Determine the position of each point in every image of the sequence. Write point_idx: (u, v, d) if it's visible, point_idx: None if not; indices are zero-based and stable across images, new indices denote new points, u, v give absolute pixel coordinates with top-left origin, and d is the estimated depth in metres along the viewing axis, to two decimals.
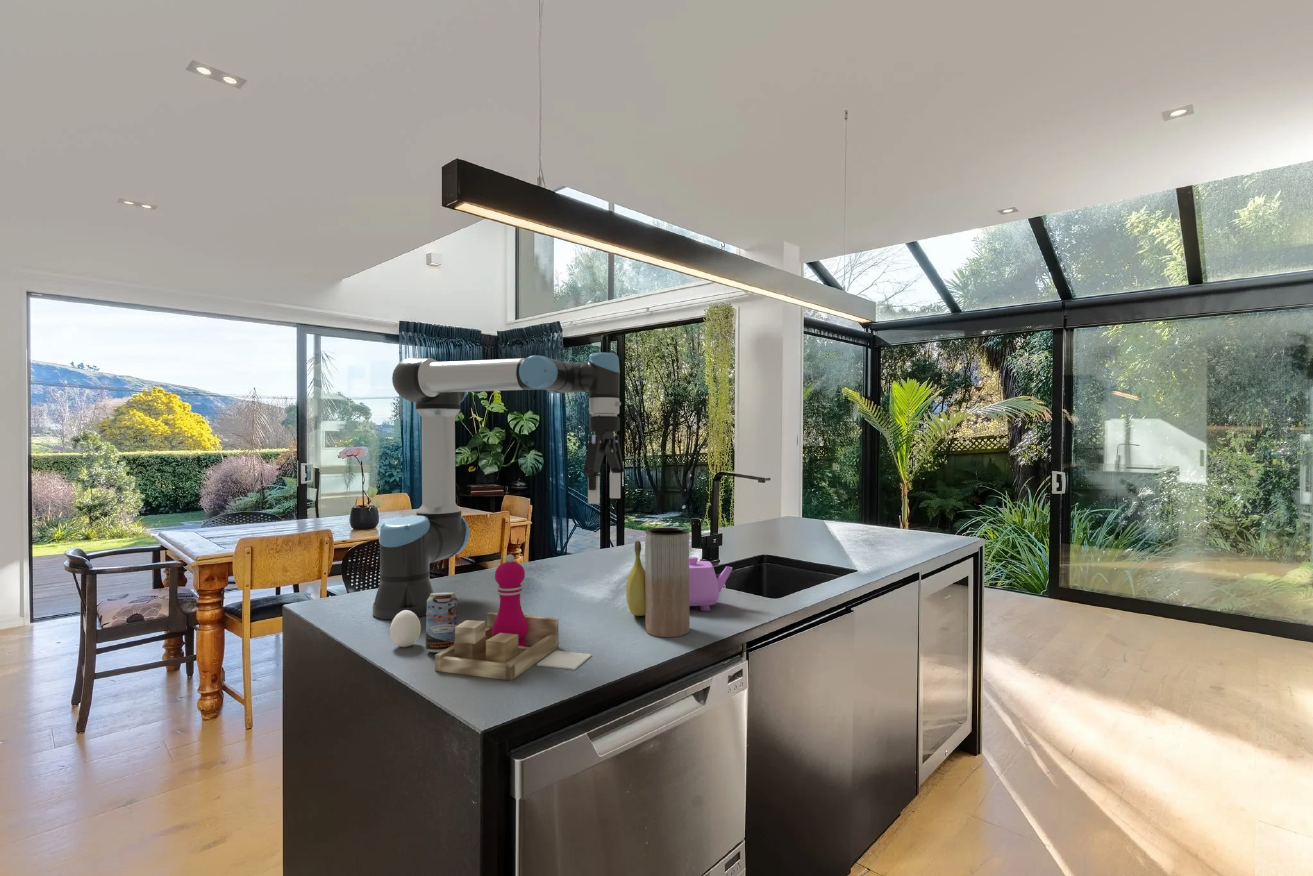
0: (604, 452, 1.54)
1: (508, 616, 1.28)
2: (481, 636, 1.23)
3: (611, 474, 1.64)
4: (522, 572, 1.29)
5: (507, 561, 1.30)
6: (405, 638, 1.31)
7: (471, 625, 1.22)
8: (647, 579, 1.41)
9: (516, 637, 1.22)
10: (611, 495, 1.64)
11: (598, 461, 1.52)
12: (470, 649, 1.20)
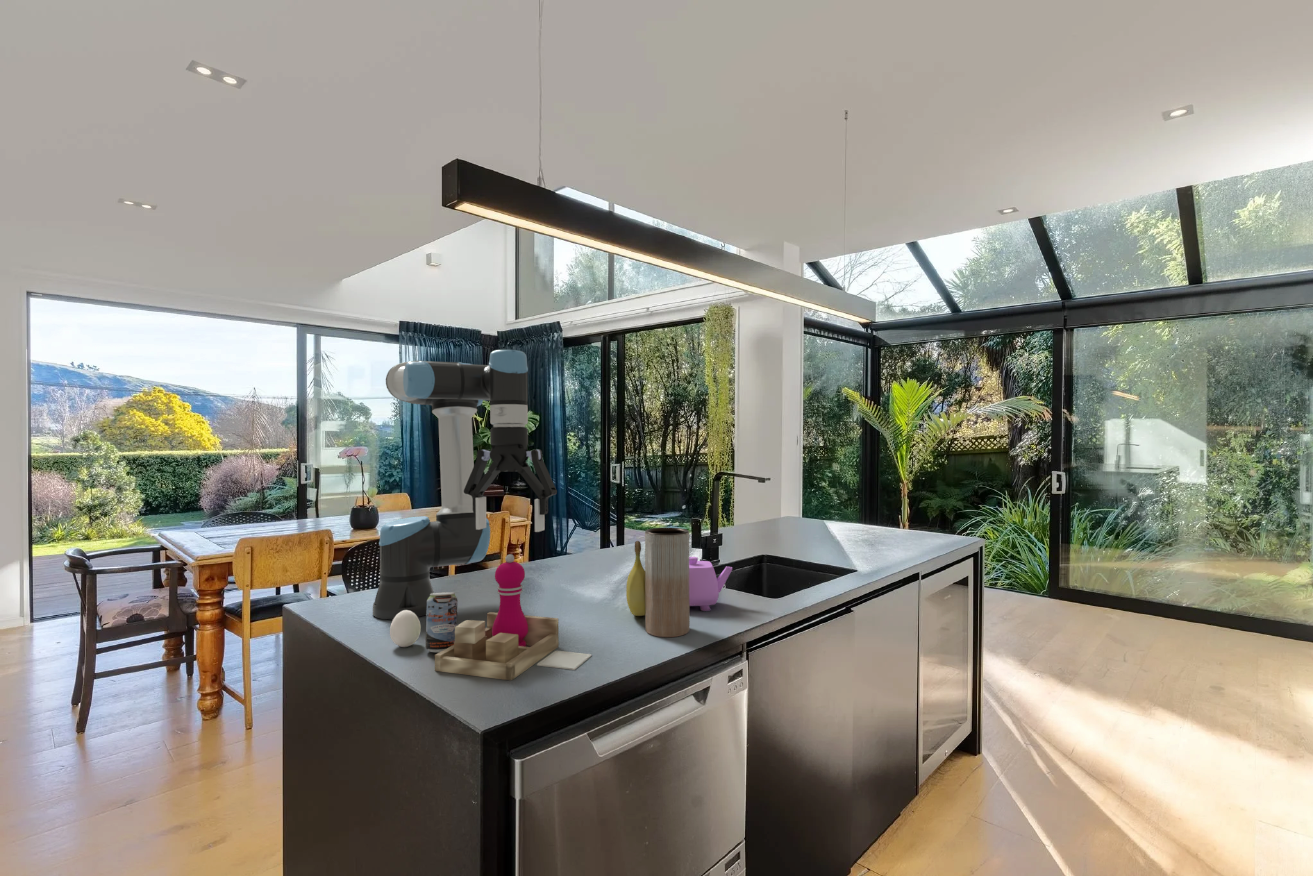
0: (489, 470, 1.30)
1: (508, 616, 1.28)
2: (481, 636, 1.23)
3: None
4: (522, 572, 1.29)
5: (507, 561, 1.30)
6: (405, 638, 1.31)
7: (470, 625, 1.22)
8: (647, 579, 1.41)
9: (516, 637, 1.22)
10: None
11: None
12: (470, 649, 1.20)
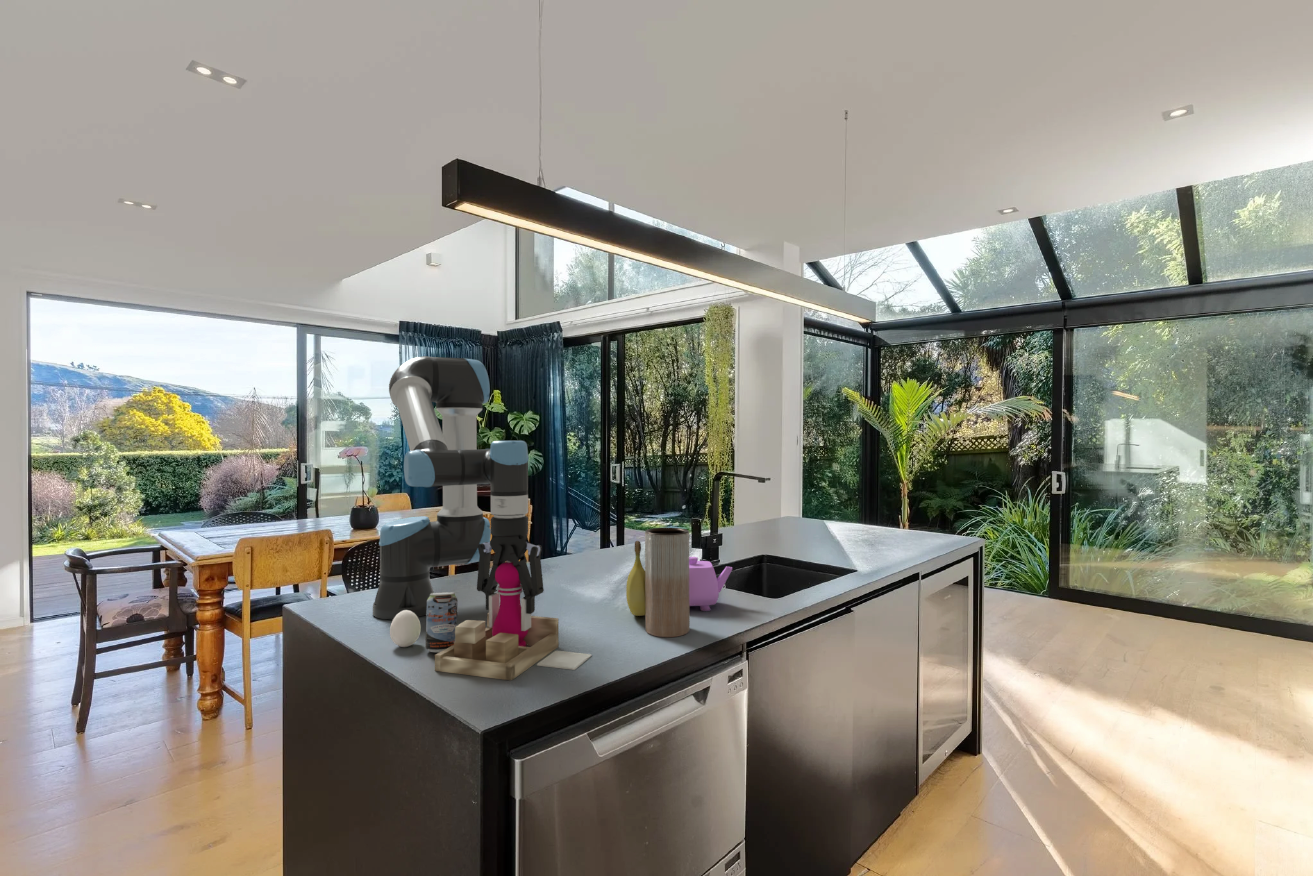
0: (494, 563, 1.30)
1: (508, 616, 1.28)
2: (481, 636, 1.23)
3: None
4: None
5: (507, 561, 1.30)
6: (405, 638, 1.31)
7: (471, 625, 1.22)
8: (647, 579, 1.41)
9: (516, 637, 1.22)
10: None
11: None
12: (470, 649, 1.20)
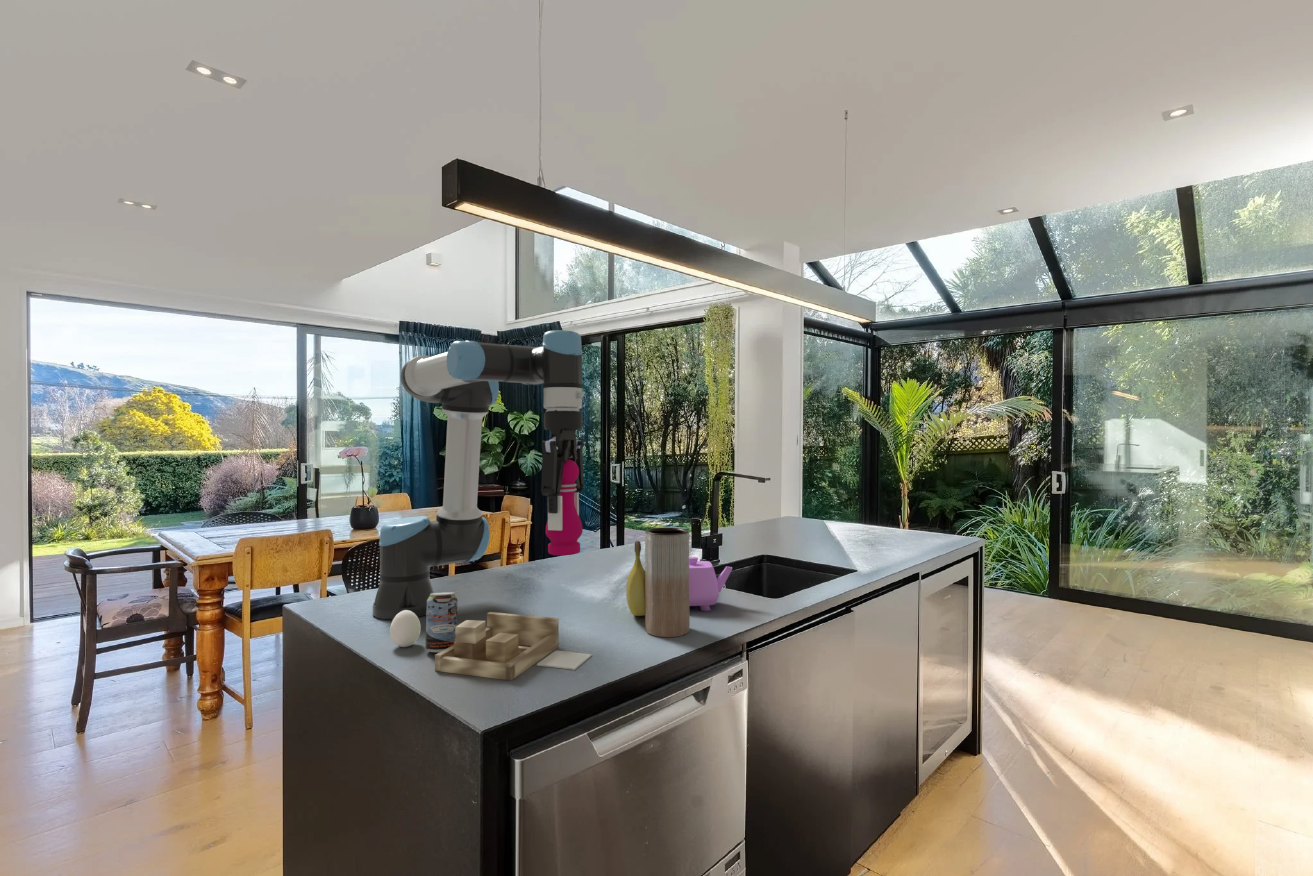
0: (564, 460, 1.22)
1: (576, 512, 1.25)
2: (481, 636, 1.23)
3: None
4: None
5: None
6: (405, 638, 1.31)
7: (471, 625, 1.22)
8: (647, 579, 1.41)
9: (516, 637, 1.22)
10: None
11: (558, 475, 1.20)
12: (470, 649, 1.20)
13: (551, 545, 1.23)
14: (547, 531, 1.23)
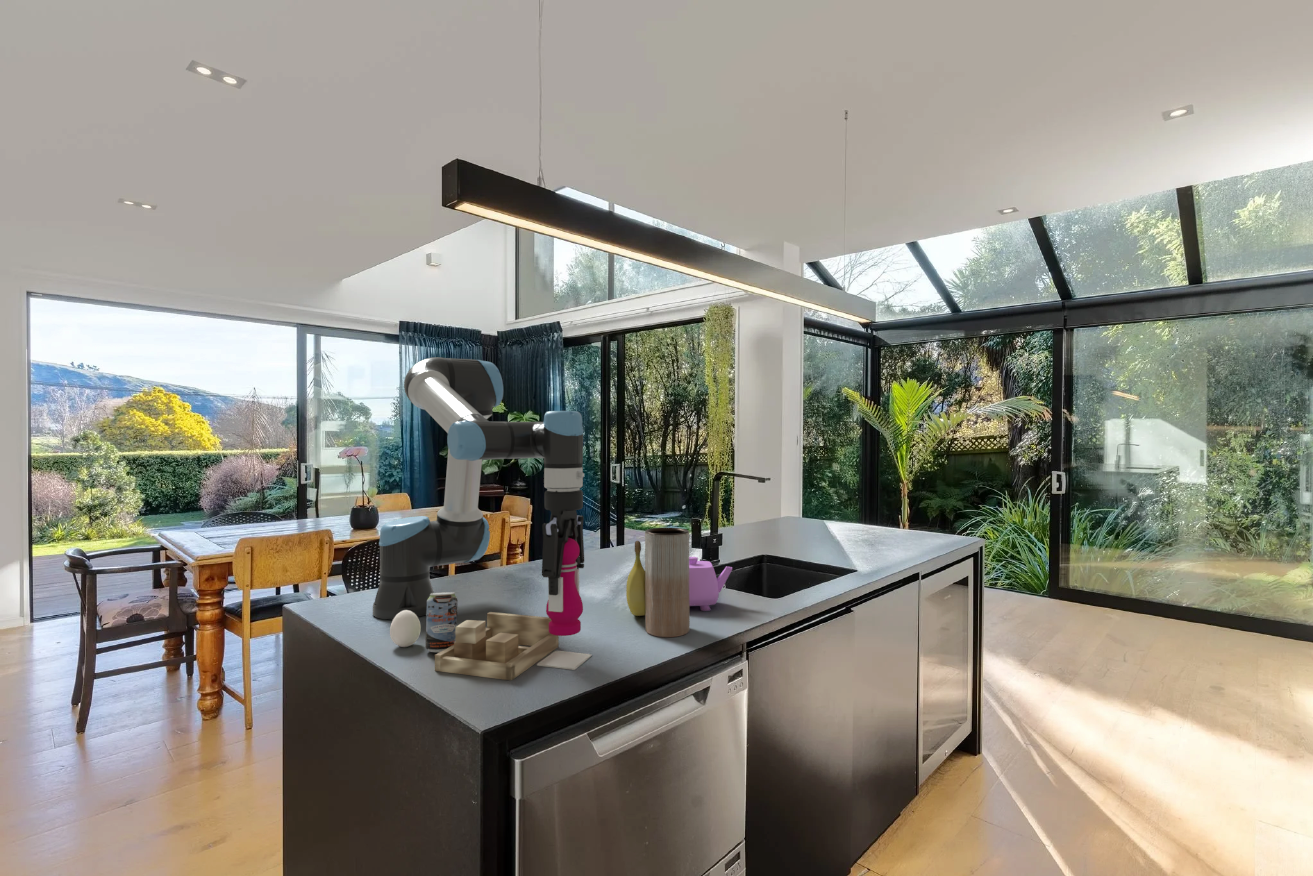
0: (565, 541, 1.22)
1: (577, 590, 1.25)
2: (481, 636, 1.23)
3: None
4: None
5: None
6: (405, 638, 1.31)
7: (471, 625, 1.22)
8: (647, 579, 1.41)
9: (516, 637, 1.22)
10: None
11: (559, 557, 1.21)
12: (470, 649, 1.20)
13: (552, 625, 1.23)
14: (548, 611, 1.23)
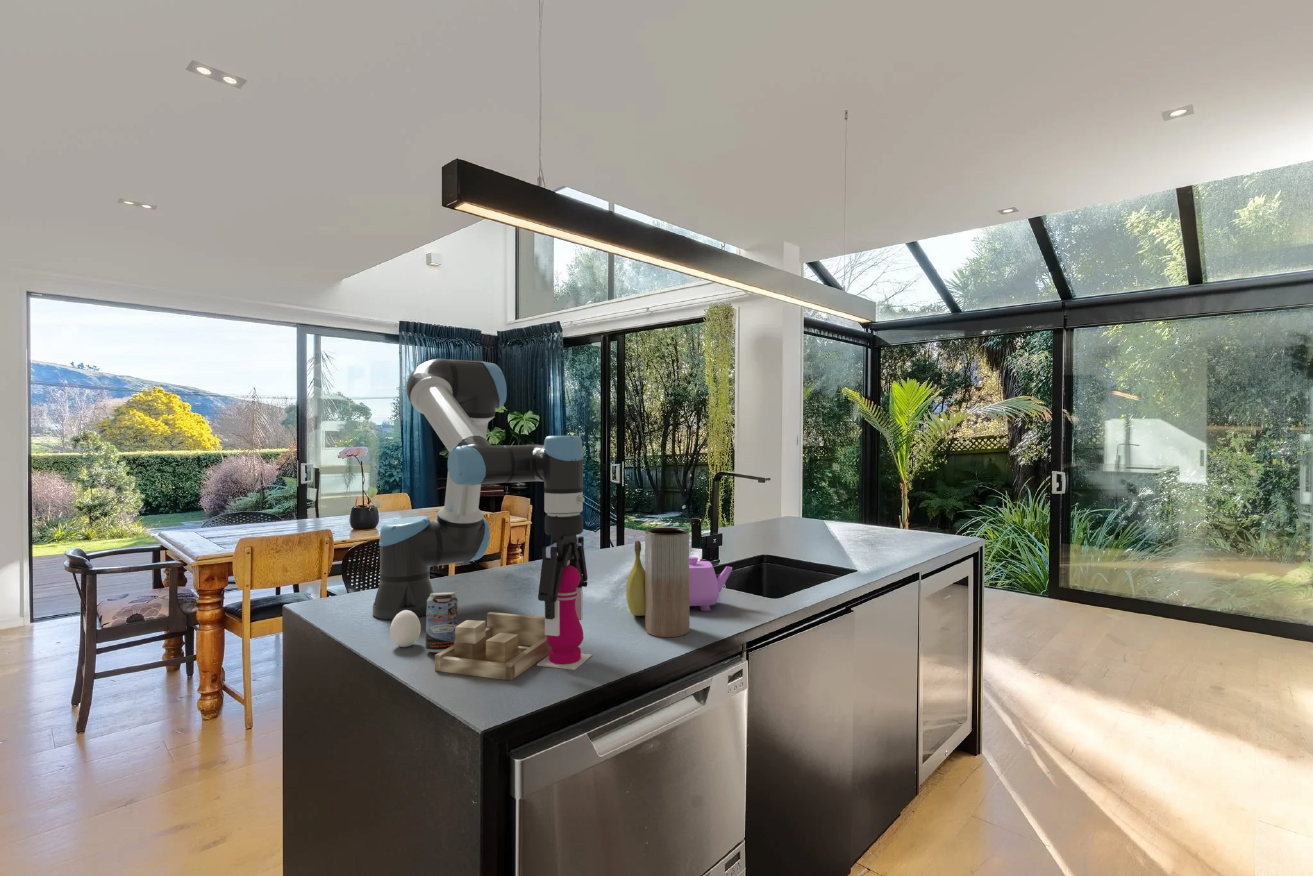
0: (563, 565, 1.21)
1: (577, 618, 1.25)
2: (481, 636, 1.23)
3: None
4: None
5: (567, 564, 1.25)
6: (405, 638, 1.31)
7: (471, 625, 1.22)
8: (647, 579, 1.41)
9: (516, 637, 1.22)
10: None
11: (556, 580, 1.20)
12: (470, 649, 1.20)
13: (552, 653, 1.23)
14: (548, 639, 1.23)
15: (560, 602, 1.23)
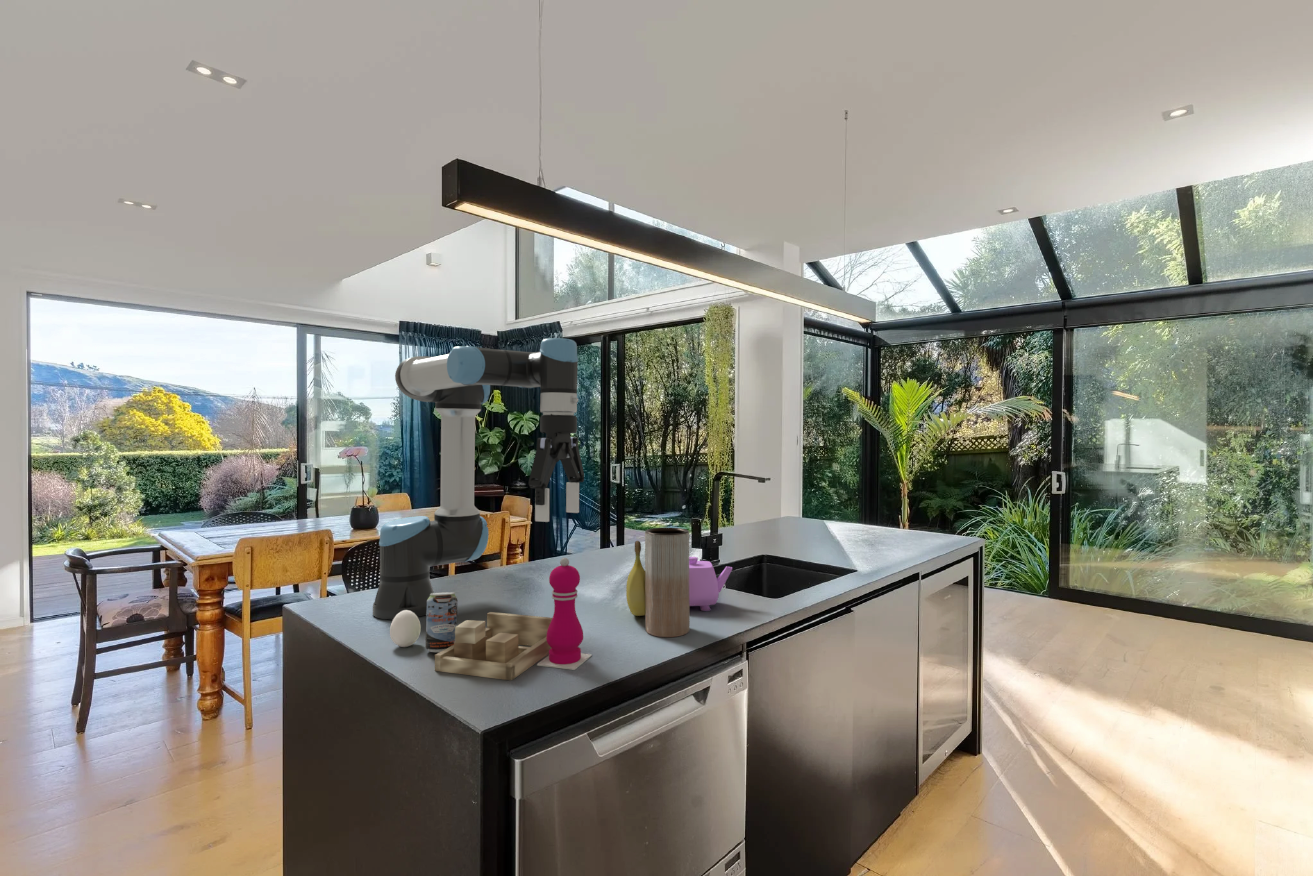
0: (556, 459, 1.27)
1: (577, 618, 1.25)
2: (481, 636, 1.23)
3: (568, 484, 1.38)
4: None
5: (567, 564, 1.25)
6: (405, 638, 1.31)
7: (471, 625, 1.22)
8: (647, 579, 1.41)
9: (516, 637, 1.22)
10: (568, 509, 1.38)
11: (548, 470, 1.25)
12: (470, 649, 1.20)
13: (552, 653, 1.23)
14: (548, 639, 1.23)
15: (560, 602, 1.23)
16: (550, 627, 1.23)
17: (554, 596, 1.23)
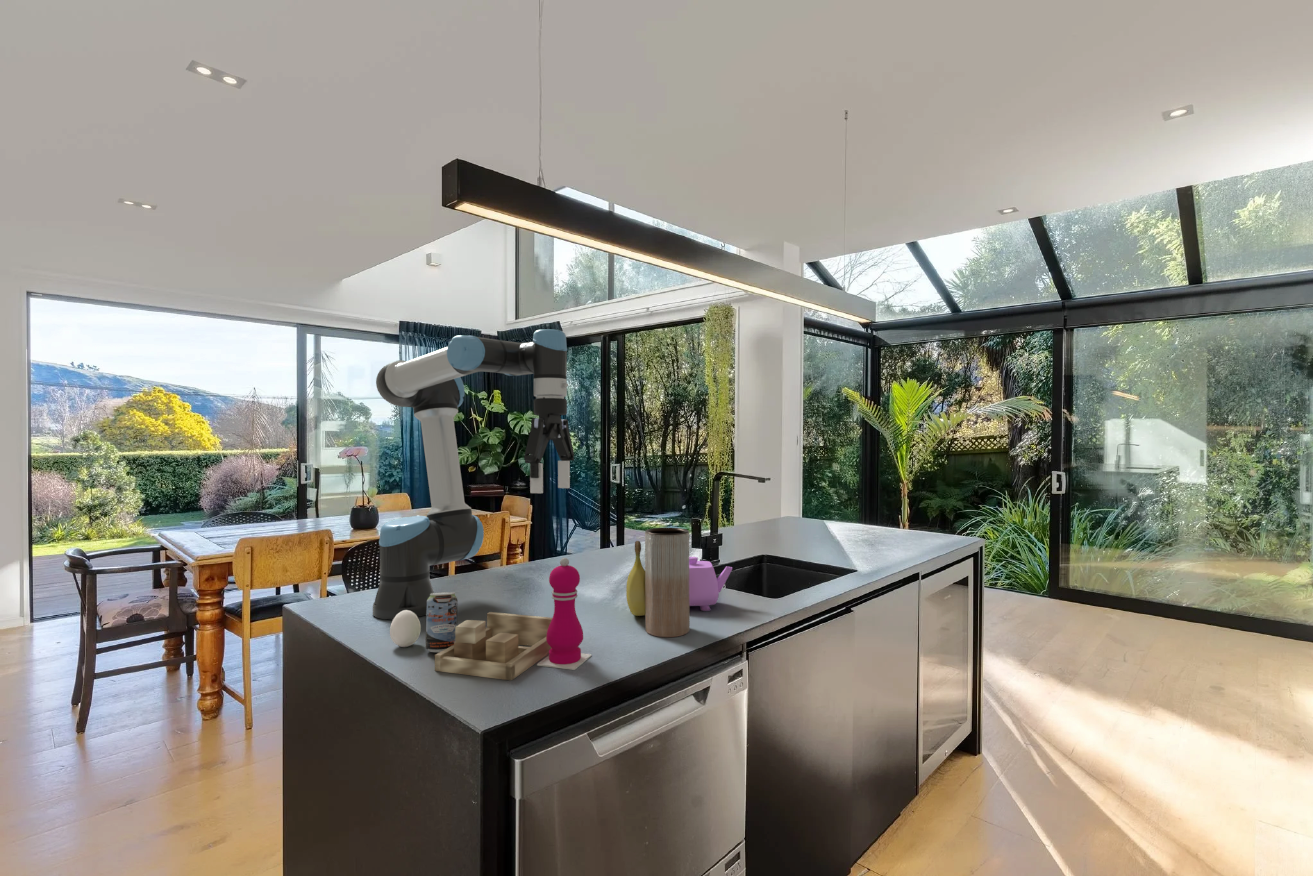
0: (549, 437, 1.41)
1: (577, 618, 1.25)
2: (481, 636, 1.23)
3: (560, 462, 1.52)
4: None
5: (567, 564, 1.25)
6: (405, 638, 1.31)
7: (471, 625, 1.22)
8: (647, 579, 1.41)
9: (516, 637, 1.22)
10: (560, 485, 1.52)
11: (541, 447, 1.39)
12: (470, 649, 1.20)
13: (552, 653, 1.23)
14: (548, 639, 1.23)
15: (560, 602, 1.23)
16: (550, 627, 1.23)
17: (554, 596, 1.23)
